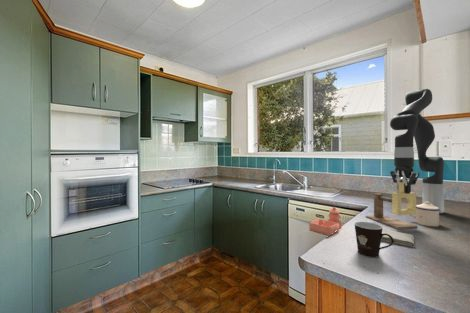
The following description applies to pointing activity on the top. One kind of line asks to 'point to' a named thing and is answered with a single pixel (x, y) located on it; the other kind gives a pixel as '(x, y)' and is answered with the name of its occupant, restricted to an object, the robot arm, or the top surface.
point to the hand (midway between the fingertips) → (403, 192)
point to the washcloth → (398, 238)
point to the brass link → (397, 201)
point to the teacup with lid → (427, 214)
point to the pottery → (327, 223)
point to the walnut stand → (384, 219)
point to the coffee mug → (369, 238)
